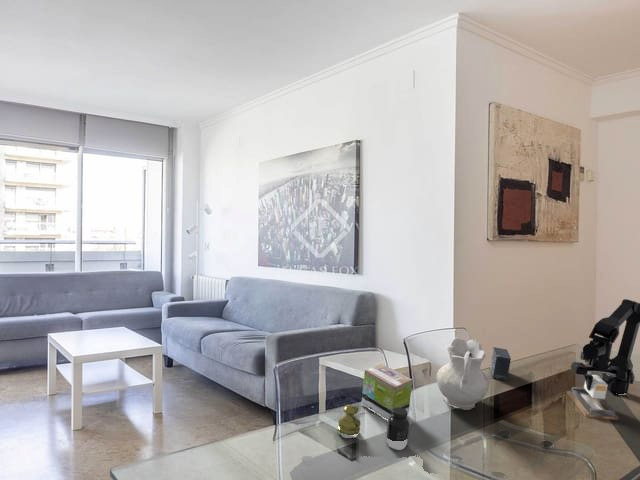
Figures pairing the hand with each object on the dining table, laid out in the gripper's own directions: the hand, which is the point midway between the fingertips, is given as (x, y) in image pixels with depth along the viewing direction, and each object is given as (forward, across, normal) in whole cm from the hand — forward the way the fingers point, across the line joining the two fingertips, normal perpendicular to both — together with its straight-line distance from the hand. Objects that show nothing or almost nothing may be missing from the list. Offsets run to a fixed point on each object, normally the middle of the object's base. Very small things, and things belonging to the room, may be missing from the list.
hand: (594, 390), depth 194 cm
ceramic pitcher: (+7, +53, +10) cm, 54 cm away
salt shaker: (+7, +95, +39) cm, 103 cm away
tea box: (+7, +82, +22) cm, 86 cm away
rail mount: (+7, 0, 0) cm, 7 cm away
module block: (+1, 0, 0) cm, 1 cm away
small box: (+7, +31, -20) cm, 38 cm away
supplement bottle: (+7, +79, +42) cm, 90 cm away
